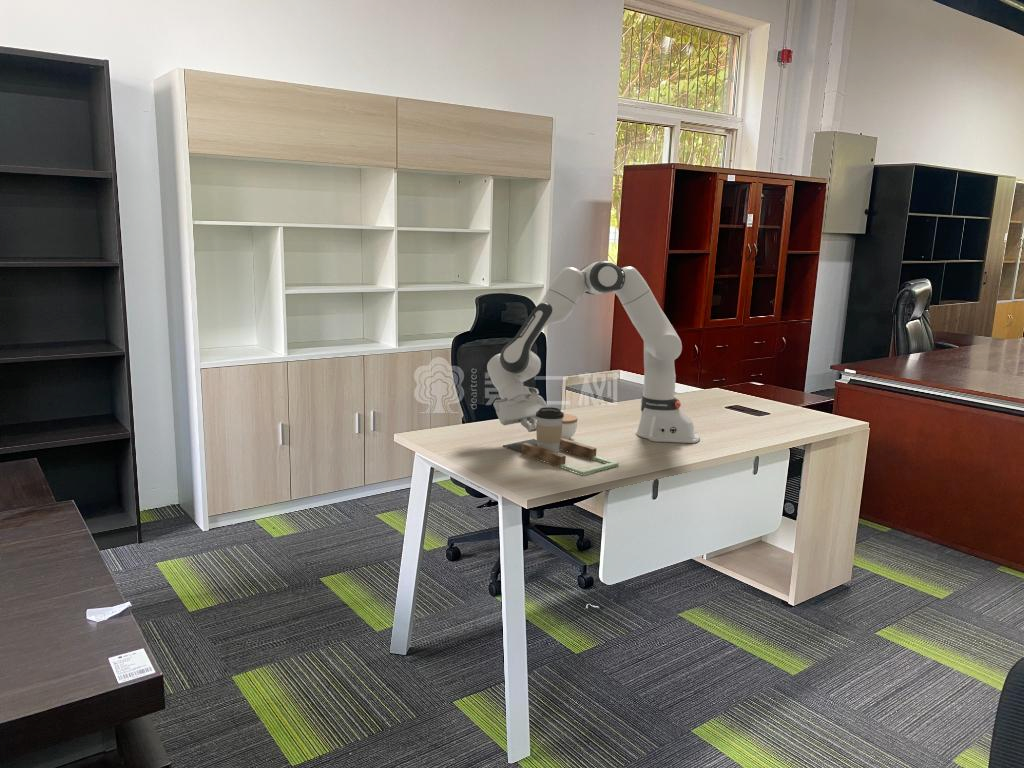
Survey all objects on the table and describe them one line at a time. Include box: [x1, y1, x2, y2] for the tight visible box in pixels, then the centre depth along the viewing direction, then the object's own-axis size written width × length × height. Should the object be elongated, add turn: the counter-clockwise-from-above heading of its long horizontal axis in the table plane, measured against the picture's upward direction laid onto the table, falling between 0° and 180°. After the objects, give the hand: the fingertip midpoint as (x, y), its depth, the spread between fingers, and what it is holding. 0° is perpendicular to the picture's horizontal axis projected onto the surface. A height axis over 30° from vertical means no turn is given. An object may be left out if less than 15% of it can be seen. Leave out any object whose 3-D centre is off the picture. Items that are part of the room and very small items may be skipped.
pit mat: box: [502, 438, 537, 453], centre depth 253 cm, size 9×14×1 cm, turn 131°
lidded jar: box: [561, 411, 578, 440], centre depth 263 cm, size 11×11×9 cm
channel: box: [521, 437, 597, 468], centre depth 242 cm, size 18×16×4 cm
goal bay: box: [561, 455, 619, 476], centre depth 232 cm, size 10×16×1 cm, turn 131°
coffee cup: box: [535, 406, 564, 454], centre depth 245 cm, size 9×9×15 cm
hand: (533, 430), depth 250 cm, fingers closed
